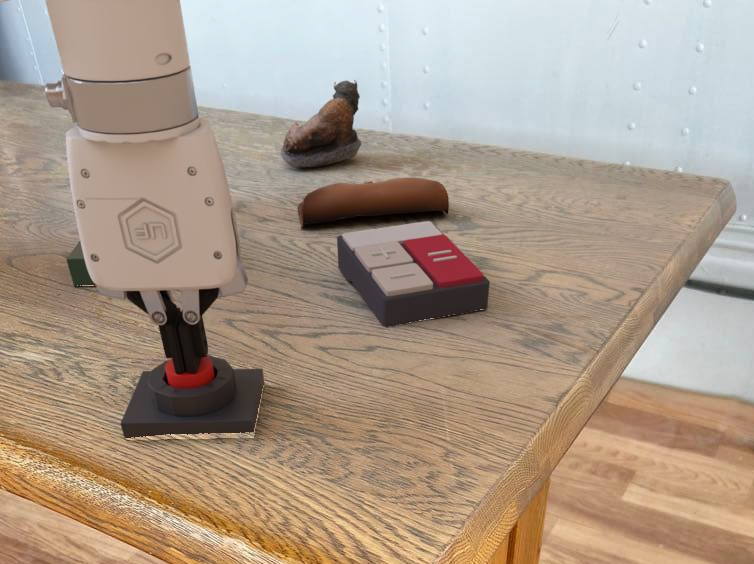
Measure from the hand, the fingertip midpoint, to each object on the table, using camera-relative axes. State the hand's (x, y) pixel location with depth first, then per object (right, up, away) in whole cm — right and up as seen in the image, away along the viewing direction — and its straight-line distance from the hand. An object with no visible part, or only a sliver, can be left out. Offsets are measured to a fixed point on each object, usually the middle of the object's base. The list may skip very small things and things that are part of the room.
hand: (189, 364), depth 62 cm
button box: (0, -3, +3) cm, 4 cm away
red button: (0, -1, +1) cm, 2 cm away
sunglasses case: (+12, +27, +37) cm, 48 cm away
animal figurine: (+5, +40, +53) cm, 67 cm away
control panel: (-12, +16, +25) cm, 32 cm away
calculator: (+17, +12, +21) cm, 30 cm away
